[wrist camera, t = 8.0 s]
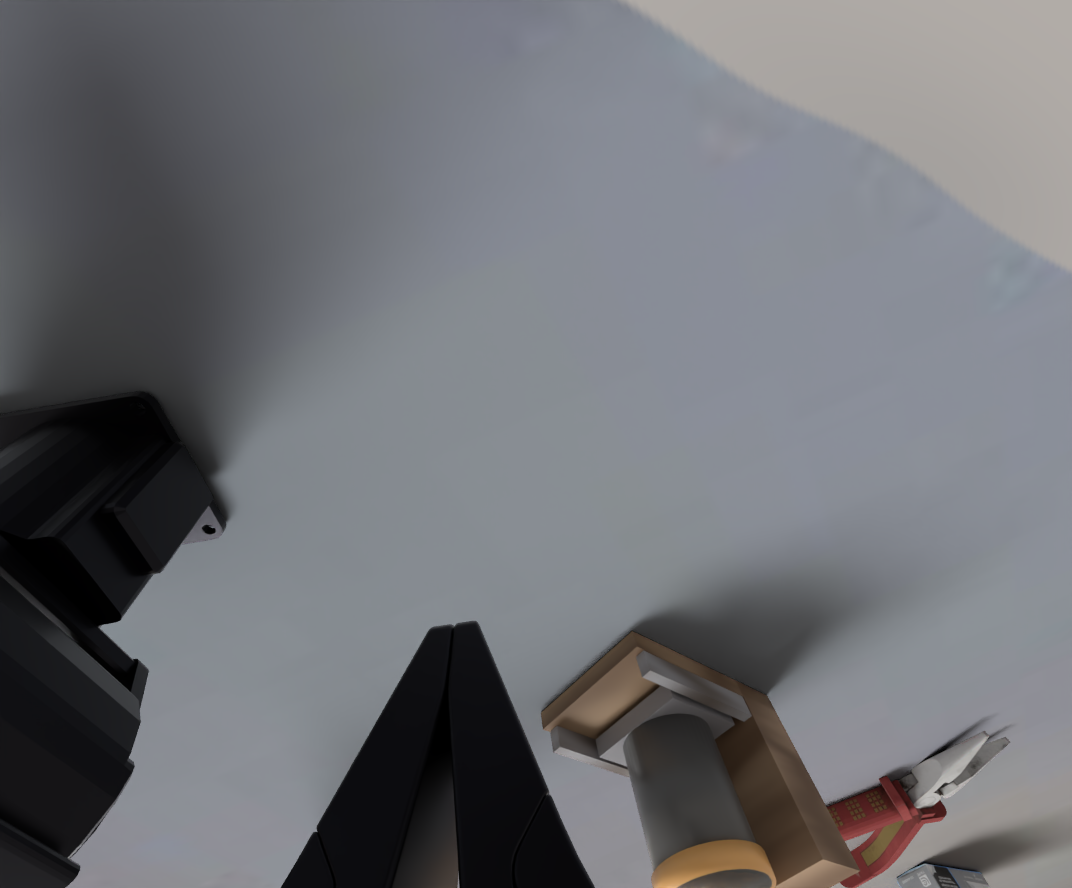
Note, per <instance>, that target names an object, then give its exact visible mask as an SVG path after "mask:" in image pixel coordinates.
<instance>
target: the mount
mask: <svg viewBox="0 0 1072 888" xmlns="http://www.w3.org/2000/svg"><path fill="white" fill-rule="evenodd" d="M660 686H663V687H666V688H668V689H670V690H672V691H675V692H677V693H679V694H682V695H684V696H686V697H688V698H691V699H693V700H695V701H698V702H700V703H702V704H704V705H707V706H709V707H711V708H714V709H716V710H718V711H720V712H723V713H725V714H727V715H730V716H731V717H732V719H733V721H734V724H735V725H734V726H732V727H731V728H729V729H728V730H727V731H725V732H724V733H723V734H721V735H720V736H719V737H717V738H716V739H715V742H716V744H717V747H718V749H719V751H720V754H721V756H722V759H723V761H724V764H725V766H726V769H727V771H728V774H729V776H730V779H731V781H732V783H733V786H734V788H735V791H736V793H737V796H738V798H739V801H740V803H741V806H742V808H743V811H744V813H745V815H746V818H747V820H748V823H749V825H750V828H751V830H752V833H753V835H754V838H755V840H756V843H757V844H758V845H760V846H761V847H762V848H763V849H764V851H765V853H766V855H767V858H768V860H769V863H770V865H771V867H772V870H773V872H774V875H775V877H776V886H775V888H830V887H832V886H834V885H835V884H837V883H839V882H841V881H843V880H845V879H846V878H848V877H850V876H852V875H854V874H856V873H858V872H859V871H860V869H859V867H858V865H857V864H856V862H855V860H854V858H853V856H852V854H851V852H850V850H849V849H848V847H847V845H846V843H845V841H844V839H843V837H842V835H841V834H840V832H839V830H838V828H837V826H836V824H835V822H834V820H833V819H832V817H831V815H830V813H829V811H828V809H827V807H826V805H825V803H824V802H823V800H822V798H821V796H820V794H819V792H818V790H817V788H816V787H815V785H814V783H813V781H812V779H811V777H810V775H809V773H808V772H807V770H806V768H805V766H804V764H803V762H802V760H801V758H800V757H799V755H798V753H797V751H796V749H795V747H794V745H793V743H792V742H791V740H790V738H789V736H788V734H787V732H786V730H785V728H784V726H783V725H782V723H781V721H780V719H779V717H778V715H777V713H776V711H775V710H774V708H773V706H772V704H771V702H770V700H769V698H768V696H767V695H765V694H763V693H761V692H759V691H756V690H754V689H752V688H750V687H748V686H746V685H744V684H742V683H740V682H738V681H736V680H733V679H731V678H729V677H727V676H725V675H723V674H721V673H719V672H717V671H715V670H713V669H710V668H708V667H706V666H704V665H702V664H700V663H698V662H696V661H694V660H692V659H690V658H687V657H685V656H683V655H681V654H679V653H677V652H675V651H673V650H671V649H669V648H667V647H664V646H662V645H660V644H658V643H656V642H654V641H652V640H650V639H648V638H646V637H644V636H641V635H639V634H637V633H635V632H633V631H632V632H630V633H629V634H628V635H627V636H626V637H625V638H624V639H623V640H622V641H620V642H619V643H618V644H617V645H616V646H615V647H614V648H613V649H611V650H610V651H609V652H608V653H607V654H606V655H605V656H604V657H603V658H601V659H600V660H599V661H598V662H597V663H596V664H595V665H594V666H593V667H591V668H590V669H589V670H588V671H587V672H586V673H585V674H584V675H583V676H581V677H580V678H579V679H578V680H577V681H576V682H575V683H574V684H573V685H571V686H570V687H569V688H568V689H567V690H566V691H565V692H564V693H563V694H561V695H560V696H559V697H558V698H557V699H556V700H555V701H554V702H553V703H551V704H550V705H549V706H548V707H547V708H546V709H545V710H544V711H542V712H541V717H542V725H543V730H546V731H549V732H551V739H552V746H553V752H554V753H557V754H560V755H563V756H566V757H569V758H572V759H575V760H578V761H581V762H584V763H587V764H590V765H593V766H596V767H599V768H602V769H605V770H608V771H611V772H614V773H617V774H620V775H623V776H626V777H629V778H630V775H629V771H628V767H627V766H624V765H621V764H618V763H615V762H612V761H609V760H606V759H603V758H600V757H599V754H598V750H597V745H596V739H597V738H598V737H599V736H600V735H602V734H603V733H604V732H605V731H607V730H608V729H609V728H610V727H611V726H613V725H614V724H615V723H616V722H617V721H619V720H620V719H621V718H622V717H624V716H625V715H626V714H627V713H628V712H630V711H631V710H632V709H633V708H635V707H636V706H637V705H638V704H639V703H641V702H642V701H643V700H644V699H645V698H647V697H648V696H649V695H650V694H652V693H653V692H654V691H655V690H656V689H658V688H659V687H660Z"/></svg>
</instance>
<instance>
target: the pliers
mask: <svg viewBox="0 0 1072 888" xmlns="http://www.w3.org/2000/svg"><path fill="white" fill-rule="evenodd" d="M988 737H989V735H988V734H987V733H986V732H985V731H983V732H981V733H979V734H977V735H975V736H973V737H971V738H969V739H967V740H965V741H963V742H961V743H959V744H957V745H955V746H953V747H951V748H949V749H947V750H945V751H943V752H941V753H939V754H937V755H935V756H933V757H931V758H929V759H927V760H925V761H924V762H922V763H920V764H919V765H917V766H915V767H914V768H913V769H912V770H911V771H912V774H909V775H907V776H905V777H903V778H902V779H900V780H894V781H890V780H889V778H888V777H887V776H885V777H882V778H880V779H879V780H880V782H881V784H882V786H880V787H877V788H875V789H872V790H869V791H867V792H864V793H862V794H859V795H857V796H854V797H851V798H849V799H846V800H844V801H841V802H838V803H836V804H833V805H831V806H828V807H827V809H828V811H829V813H830V815H831V817H832V819H833V820H834V822H835V824H836V826H837V828H838V830H839V832H840V834H841V835H842V837H843V839H844V841H846V840H849V839H852V838H854V837H857V836H860V835H863V834H865V833H868V832H871V831H874V830H875V831H874V833H873V834H872V835H871V836H870V837H869V838H868V839H867V840H866V841H865V842H864V843H863V844H862V845H860V846H859V847H857V848H856V849H854V850H853V851H851V854H852V856H853V858H854V860H855V862H856V864H857V865H858V867H859V869H860V871H859V872H858V873H856V874H854V875H852V876H850V877H848V878H846V879H845V880H843V881H841V882H840V883H841V884H842V885H843V886H845V887H848V888H856V887H858V886H860V885H862V884H863V883H865V882H867V881H868V880H870V879H872V878H874V877H875V876H877V875H879V874H881V873H882V872H884V871H885V870H886V869H888V868H889V867H890V866H891V865H892V864H893V863H894V862H895V861H896V860H897V859H898V858H899V857H900V855H901V854H902V853H903V851H904V850H905V849H906V847H907V846H908V844H909V843H910V842H911V840H912V839H913V838H914V836H915V835H916V834H917V832H918V831H919V830H920V828H921V827H922V826H923V824H925V823H932V822H938V821H941V820H942V819H943V818H944V817H945V816H946V813H947V812H946V808H945V806H944V805H943V804H942V802H941V801H940V799H941V796H942V797H944V798H945V799H947V798H949V797H950V796H952V795H953V794H955V793H956V792H957V791H958V790H960V789H961V788H962V787H963V786H964V785H965V784H966V783H967V782H969V781H970V780H971V779H972V778H973V777H974V776H975V775H976V774H977V773H978V772H979V771H980V770H981V769H982V768H983V767H985V766H986V765H987V764H988V763H989V762H990V761H991V760H992V759H993V758H994V757H995V756H996V755H997V754H998V753H999V752H1000V751H1002V750H1003V749H1004V748H1005V747H1006V746H1007V745H1008V744H1009V743H1010V741H1009V740H1008V739H1007V738H1006V737H1004V738H1001V739H998V740H996V741H993V742H990V743H987V744H984V743H985V741H986V740H987V739H988ZM983 744H984V745H983Z"/></svg>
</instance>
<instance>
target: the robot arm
mask: <svg viewBox="0 0 1072 888" xmlns="http://www.w3.org/2000/svg"><path fill="white" fill-rule="evenodd" d="M136 403H140V404H142V405H143V406H144V407H145V409H146V410H142V409H140V408H139V407H138V406H137V405H136ZM208 525H211V526H213V527H214V528H211V527H209V526H208ZM225 528H226V522H225V520H224V518H223V516H222V515H221V513H220V511H219V509H218V507H217V506H216V504H215V502H214V500H213V495H212V494H211V492H210V490H209V488H208V487H207V485H206V483H205V481H204V479H203V478H202V476H201V474H200V472H199V471H198V469H197V467H196V465H195V463H194V462H193V460H192V458H191V456H190V454H189V453H188V451H187V449H186V447H185V446H184V445H183V444H182V443H181V442H180V440H179V438H178V436H177V435H176V433H175V431H174V429H173V427H172V426H171V424H170V422H169V420H168V419H167V417H166V415H165V413H164V412H163V410H162V408H161V406H160V404H159V403H158V401H157V400H156V399H155V397H153V396H152V395H150V394H149V393H146V392H142V391H136V392H130V393H124V394H118V395H112V396H106V397H100V398H94V399H88V400H82V401H76V402H70V403H64V404H58V405H52V406H46V407H40V408H34V409H28V410H22V411H16V412H10V413H4V414H0V888H65V887H67V886H68V885H69V884H70V883H71V882H72V881H73V880H74V879H75V878H76V876H77V875H78V873H79V871H80V865H79V864H77V863H76V862H74V861H72V860H71V859H70V858H71V857H72V856H73V855H74V854H75V853H76V852H77V851H78V850H79V849H80V848H81V847H82V845H83V844H84V843H85V842H86V841H87V840H88V839H89V837H90V836H91V835H92V834H93V833H94V832H95V830H96V829H97V827H98V826H99V825H100V823H101V822H102V820H103V819H104V818H105V816H106V815H107V813H108V812H109V810H110V809H111V808H112V807H113V805H114V804H115V803H116V801H117V799H118V798H119V796H120V794H121V793H122V791H123V789H124V788H125V786H126V784H127V783H128V781H129V779H130V777H131V775H132V772H133V769H134V762H133V761H132V760H130V759H129V756H130V754H131V751H132V747H133V744H134V741H135V738H136V735H137V732H138V729H139V726H140V722H141V720H140V707H141V702H142V698H143V694H144V689H145V685H146V681H147V676H148V672H149V670H148V669H147V668H146V667H145V666H144V665H143V664H142V663H141V662H140V661H139V660H138V659H132V658H131V657H129V656H128V655H127V654H126V653H125V652H124V651H123V650H122V649H121V648H120V647H119V646H118V645H117V644H116V643H115V642H114V641H113V640H112V639H110V638H109V637H108V636H107V635H106V634H105V633H104V632H103V631H102V630H101V629H100V627H101V626H102V625H103V624H109V623H114V622H118V621H120V620H121V619H122V617H123V616H124V614H125V613H126V612H127V610H128V609H129V607H130V606H131V605H132V603H133V602H134V601H135V599H136V598H137V596H138V595H139V594H140V592H141V591H142V590H143V588H144V587H145V585H146V584H147V583H148V581H149V580H150V578H151V577H152V576H153V574H157V573H160V572H162V571H163V570H164V568H165V567H166V565H167V564H168V563H169V561H170V560H171V558H172V557H173V555H174V554H175V553H176V551H177V550H178V548H179V547H180V546H181V545H183V544H189V543H194V542H200V541H206V540H212V539H216V538H219V537H220V536H221V535H222V533H223V532H224V530H225ZM317 831H318V832H313V833H312V835H311V837H310V839H309V840H308V842H307V844H306V846H305V848H304V849H303V851H302V853H301V855H300V856H299V858H298V860H297V862H296V863H295V865H294V867H293V868H292V870H291V872H290V873H289V875H288V877H287V878H286V880H285V882H284V883H283V885H282V887H281V888H457V885H458V871H459V885H460V888H595V887H594V885H593V883H592V881H591V879H590V878H589V876H588V874H587V872H586V870H585V868H584V866H583V864H582V863H581V861H580V859H579V857H578V855H577V853H576V851H575V849H574V846H573V844H572V842H571V840H570V838H569V835H568V833H567V831H566V829H565V827H564V825H563V822H562V820H561V818H560V815H559V813H558V811H557V808H556V806H555V804H554V801H553V799H552V797H551V795H549V790H548V788H547V785H546V783H545V780H544V778H543V776H542V773H541V771H540V768H539V766H538V764H537V761H536V759H535V757H534V754H533V752H532V749H531V747H530V745H529V742H528V740H527V738H526V735H525V733H524V730H523V728H522V726H521V723H520V721H519V719H518V716H517V714H516V711H515V709H514V707H513V704H512V702H511V700H510V697H509V695H508V692H507V690H506V688H505V685H504V683H503V681H502V678H501V676H500V673H499V671H498V669H497V666H496V664H495V661H494V659H493V657H492V654H491V652H490V650H489V647H488V645H487V642H486V640H485V638H484V635H483V633H482V631H481V628H480V626H479V624H478V622H477V621H469V622H462V623H457V624H456V625H455V627H454V626H453V625H450V624H449V625H442V626H436V627H432V628H431V629H430V630H429V631H428V632H427V634H426V636H425V638H424V639H423V641H422V643H421V645H420V646H419V648H418V650H417V652H416V653H415V655H414V657H413V659H412V660H411V662H410V664H409V666H408V667H407V669H406V671H405V673H404V674H403V676H402V678H401V680H400V681H399V683H398V685H397V687H396V688H395V690H394V692H393V694H392V695H391V697H390V699H389V701H388V702H387V704H386V706H385V708H384V710H383V711H382V713H381V715H380V717H379V718H378V720H377V722H376V724H375V725H374V727H373V729H372V731H371V732H370V734H369V736H368V738H367V739H366V741H365V743H364V745H363V746H362V748H361V750H360V752H359V753H358V755H357V757H356V759H355V760H354V762H353V764H352V766H351V767H350V769H349V771H348V773H347V774H346V776H345V778H344V780H343V781H342V783H341V785H340V787H339V788H338V790H337V792H336V794H335V795H334V797H333V799H332V801H331V802H330V804H329V806H328V808H327V809H326V811H325V813H324V815H323V816H322V818H321V820H320V822H319V823H318V825H317Z"/></svg>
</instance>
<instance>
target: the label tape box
mask: <svg viewBox="0 0 1072 888" xmlns="http://www.w3.org/2000/svg"><path fill="white" fill-rule="evenodd" d="M897 882H898V884H899V885H900V887H901V888H990V886H989V885H988V883H987V882H986V880H985V878H984V877H983V875H982V873H980V872H974V871H968V870H961V869H955V868H949V867H943V866H937V865H931V864H923V865H920V866H918V867H915V868H913V869H911V870H909V871H907V872H905V873H904V874H902V875H900V876H899V877H898V878H897Z"/></svg>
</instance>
